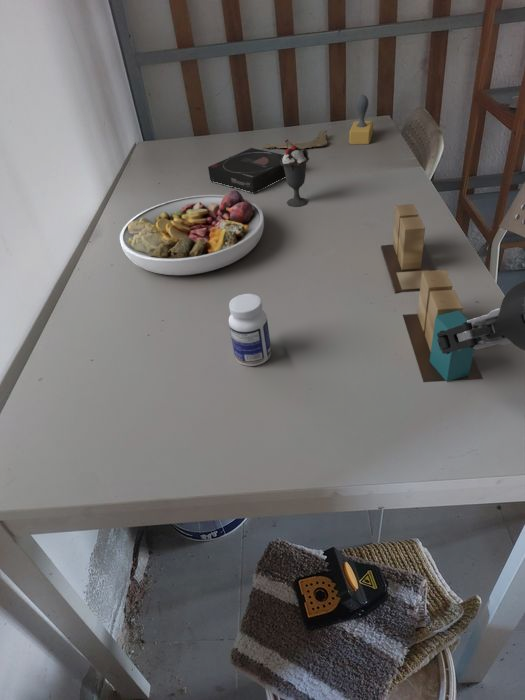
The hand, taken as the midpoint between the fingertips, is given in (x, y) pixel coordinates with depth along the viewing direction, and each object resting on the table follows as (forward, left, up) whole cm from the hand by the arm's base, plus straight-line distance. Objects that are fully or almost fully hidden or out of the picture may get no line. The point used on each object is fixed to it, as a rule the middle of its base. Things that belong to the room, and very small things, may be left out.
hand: (473, 335), depth 64 cm
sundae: (+21, -66, -9) cm, 70 cm away
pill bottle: (+29, -10, -9) cm, 32 cm away
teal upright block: (+1, -4, -8) cm, 9 cm away
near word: (+1, -9, -9) cm, 13 cm away
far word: (+1, -32, -9) cm, 33 cm away
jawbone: (+20, -109, -9) cm, 111 cm away
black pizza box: (+32, -85, -9) cm, 91 cm away
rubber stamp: (+1, -108, -9) cm, 108 cm away
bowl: (+43, -48, -9) cm, 65 cm away
